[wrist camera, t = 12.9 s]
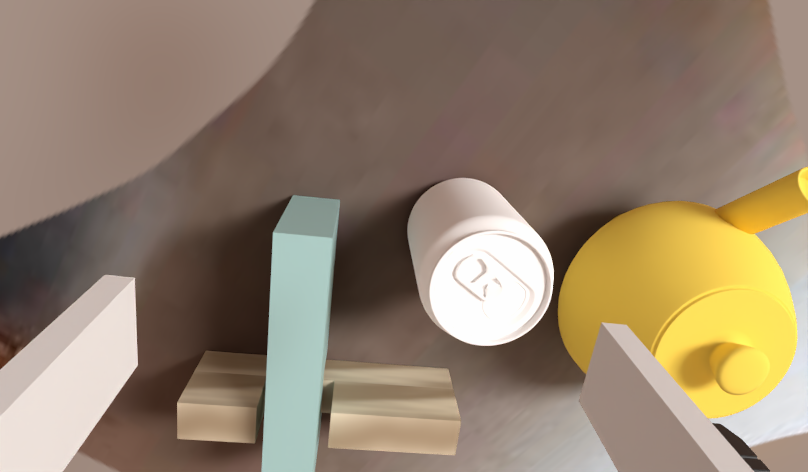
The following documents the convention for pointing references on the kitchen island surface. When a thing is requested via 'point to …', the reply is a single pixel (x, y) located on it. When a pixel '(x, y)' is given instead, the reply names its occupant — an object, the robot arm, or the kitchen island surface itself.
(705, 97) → the kitchen island surface
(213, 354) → the birch rail
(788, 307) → the teapot
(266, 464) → the teal board
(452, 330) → the beverage can
